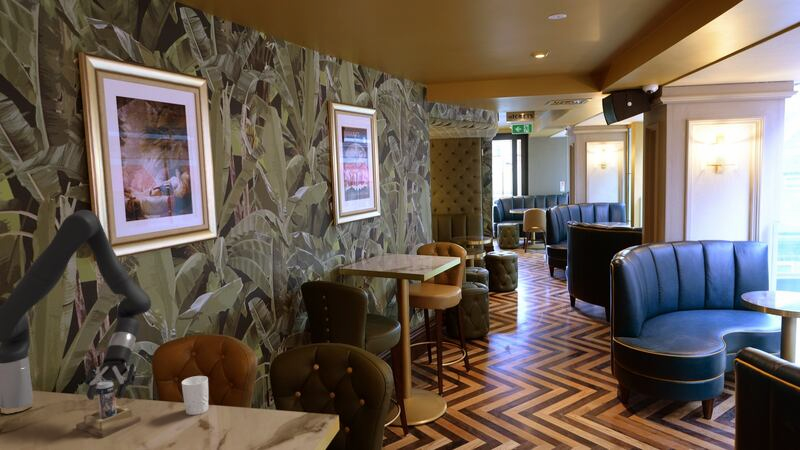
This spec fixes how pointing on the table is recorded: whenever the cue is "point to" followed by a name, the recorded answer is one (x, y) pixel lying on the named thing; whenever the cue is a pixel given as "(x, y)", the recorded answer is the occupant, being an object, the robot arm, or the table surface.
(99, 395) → the beer can
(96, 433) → the caddy
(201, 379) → the white cup
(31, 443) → the table surface
